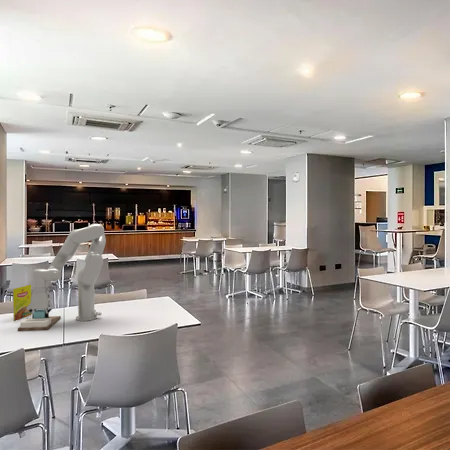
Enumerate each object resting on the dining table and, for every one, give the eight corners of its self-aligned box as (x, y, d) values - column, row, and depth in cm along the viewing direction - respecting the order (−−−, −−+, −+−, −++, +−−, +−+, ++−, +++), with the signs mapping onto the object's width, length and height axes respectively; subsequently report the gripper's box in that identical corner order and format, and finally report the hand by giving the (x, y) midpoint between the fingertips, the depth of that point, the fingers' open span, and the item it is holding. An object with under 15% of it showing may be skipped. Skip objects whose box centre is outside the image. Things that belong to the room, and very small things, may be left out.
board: (60, 318, 235) (60, 316, 234) (47, 330, 211) (47, 327, 211) (33, 319, 232) (33, 317, 232) (17, 331, 209) (17, 328, 209)
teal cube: (47, 320, 225) (47, 309, 225) (44, 322, 219) (44, 311, 219) (37, 320, 224) (36, 309, 224) (33, 323, 219) (33, 312, 218)
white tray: (51, 322, 219) (51, 317, 219) (46, 326, 212) (46, 321, 211) (25, 323, 218) (25, 318, 218) (20, 327, 210) (20, 322, 210)
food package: (14, 321, 228) (14, 288, 227) (12, 321, 228) (12, 288, 227) (32, 315, 243) (31, 284, 242) (30, 315, 243) (30, 284, 242)
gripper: (57, 288, 226) (57, 317, 227) (27, 288, 224) (27, 318, 224) (53, 290, 219) (53, 321, 219) (22, 291, 216) (22, 322, 217)
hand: (40, 319), depth 222 cm, fingers closed on teal cube, 6 cm apart
